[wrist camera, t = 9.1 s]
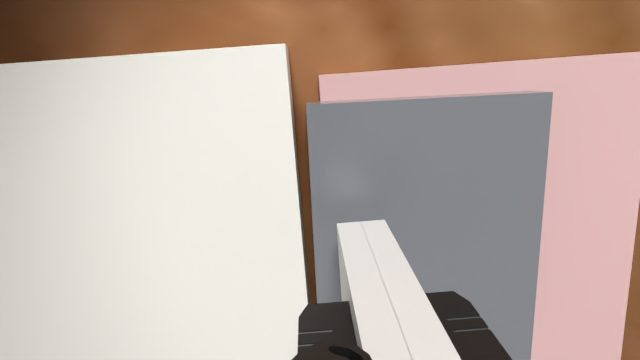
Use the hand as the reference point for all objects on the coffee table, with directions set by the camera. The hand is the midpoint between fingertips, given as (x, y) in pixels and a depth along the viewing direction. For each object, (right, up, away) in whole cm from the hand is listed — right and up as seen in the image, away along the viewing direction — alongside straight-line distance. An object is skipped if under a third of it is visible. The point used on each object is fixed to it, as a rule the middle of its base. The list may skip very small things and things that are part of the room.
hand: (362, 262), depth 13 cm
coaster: (+2, +1, +3) cm, 4 cm away
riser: (-8, 0, +3) cm, 9 cm away
